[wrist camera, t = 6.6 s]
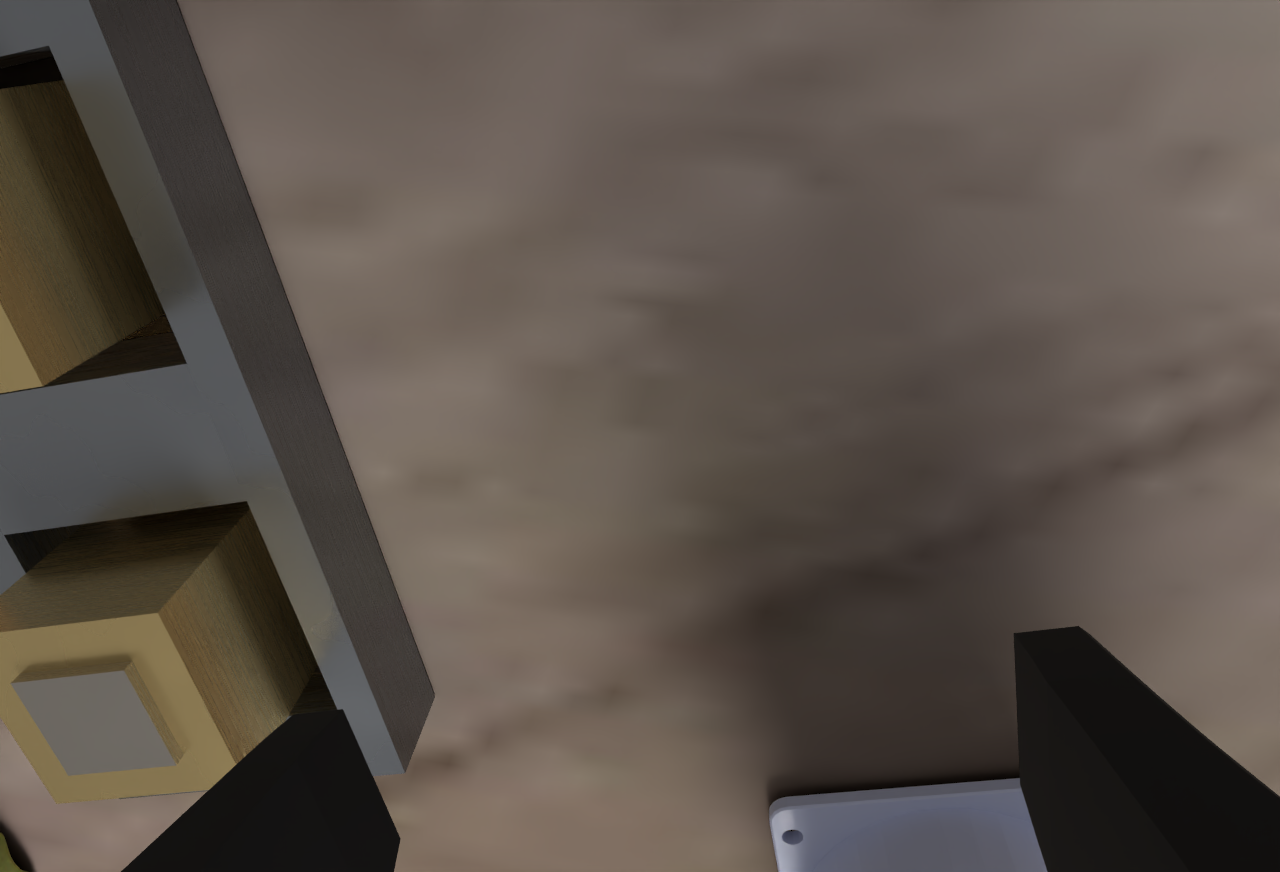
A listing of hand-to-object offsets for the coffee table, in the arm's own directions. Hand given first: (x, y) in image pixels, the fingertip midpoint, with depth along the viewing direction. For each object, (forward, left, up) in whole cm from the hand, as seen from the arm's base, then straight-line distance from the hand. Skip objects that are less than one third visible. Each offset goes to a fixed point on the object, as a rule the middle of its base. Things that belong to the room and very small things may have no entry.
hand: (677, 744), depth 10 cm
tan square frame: (-2, +11, -9) cm, 15 cm away
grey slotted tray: (+2, +11, -9) cm, 15 cm away
